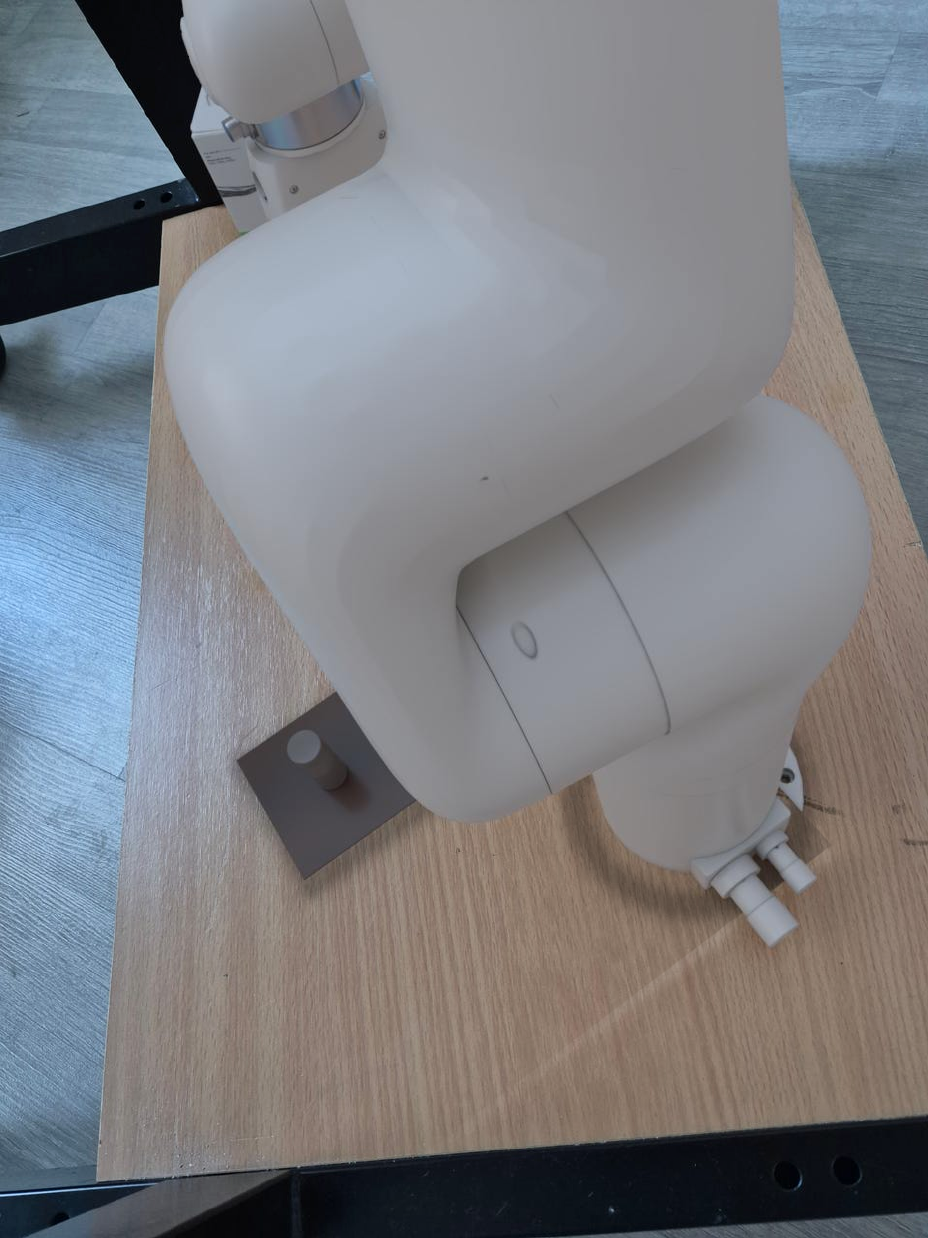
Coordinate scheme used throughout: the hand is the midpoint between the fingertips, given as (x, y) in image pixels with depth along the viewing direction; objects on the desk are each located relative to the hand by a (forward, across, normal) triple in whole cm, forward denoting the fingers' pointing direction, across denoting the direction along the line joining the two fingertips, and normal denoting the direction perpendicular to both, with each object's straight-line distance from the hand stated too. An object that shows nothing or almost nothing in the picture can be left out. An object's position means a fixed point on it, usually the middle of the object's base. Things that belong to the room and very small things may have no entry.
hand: (377, 297), depth 77 cm
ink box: (+2, -1, +15) cm, 15 cm away
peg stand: (+2, -22, -31) cm, 38 cm away
